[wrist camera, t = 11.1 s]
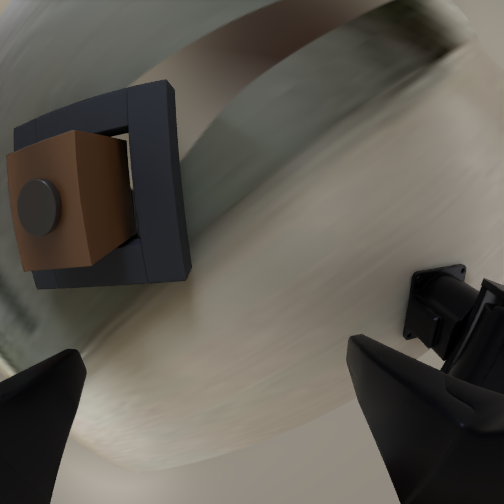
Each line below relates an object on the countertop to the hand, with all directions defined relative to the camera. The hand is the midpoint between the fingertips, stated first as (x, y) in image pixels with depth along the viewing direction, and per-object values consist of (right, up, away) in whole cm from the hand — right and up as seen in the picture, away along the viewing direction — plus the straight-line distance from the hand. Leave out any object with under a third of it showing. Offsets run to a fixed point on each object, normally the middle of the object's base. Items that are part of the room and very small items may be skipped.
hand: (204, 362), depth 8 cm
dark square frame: (-9, +8, +10) cm, 15 cm away
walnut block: (-9, +8, +10) cm, 15 cm away
